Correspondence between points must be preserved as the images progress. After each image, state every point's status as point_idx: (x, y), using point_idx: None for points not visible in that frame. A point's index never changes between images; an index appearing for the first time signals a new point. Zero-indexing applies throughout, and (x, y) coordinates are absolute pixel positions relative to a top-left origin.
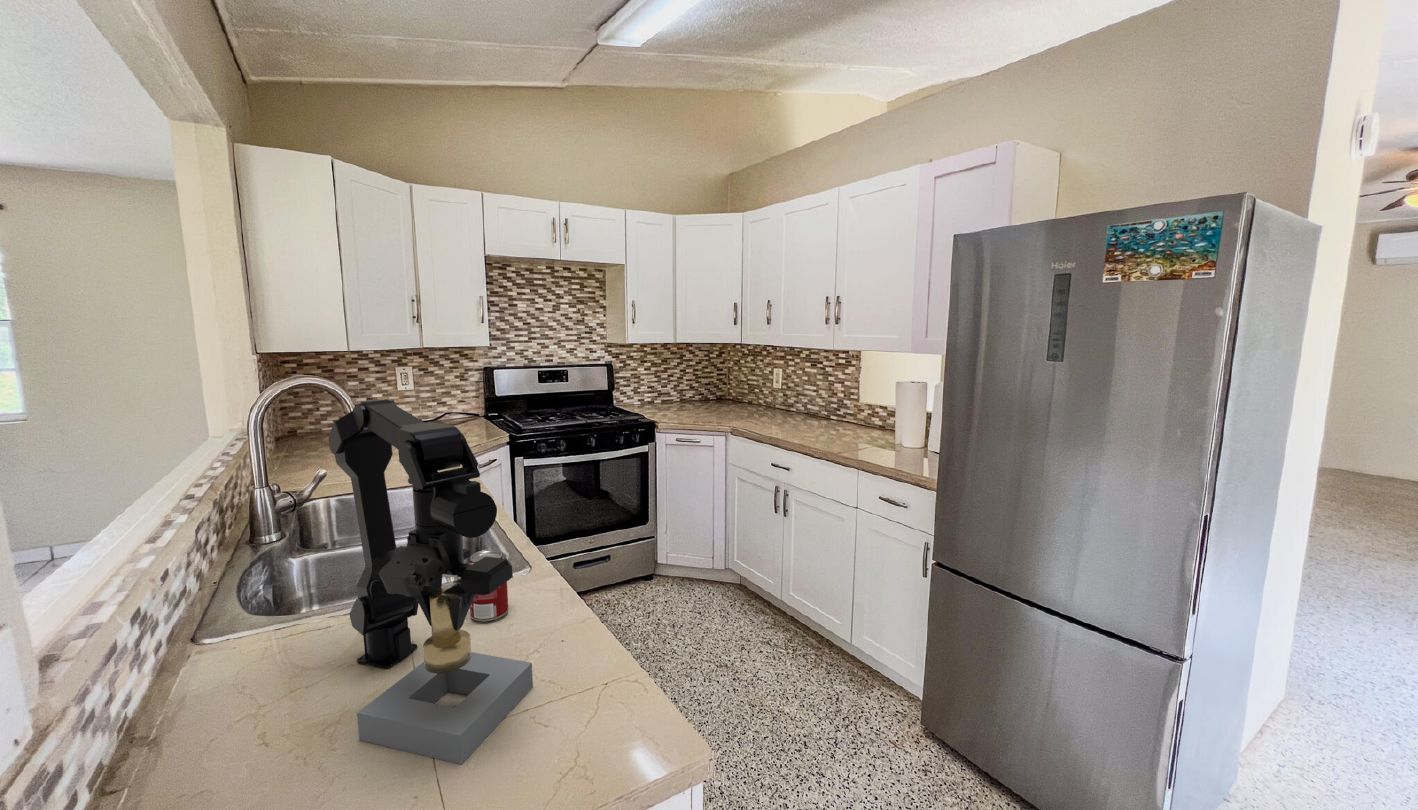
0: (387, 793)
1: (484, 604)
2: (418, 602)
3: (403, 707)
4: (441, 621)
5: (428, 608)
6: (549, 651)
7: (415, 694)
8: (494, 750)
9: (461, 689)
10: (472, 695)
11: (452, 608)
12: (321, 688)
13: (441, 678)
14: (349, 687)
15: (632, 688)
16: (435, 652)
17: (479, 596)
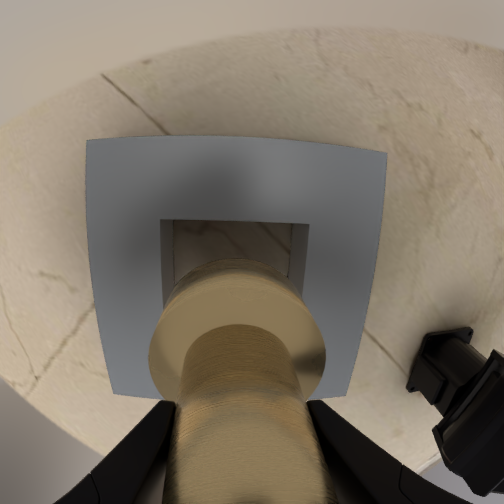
0: (202, 53)
1: None
2: (419, 477)
3: (294, 189)
4: (209, 419)
5: (346, 470)
6: None
7: (305, 248)
8: (80, 193)
9: None
10: (150, 272)
11: (123, 495)
12: (485, 262)
13: None
14: (455, 276)
15: (5, 369)
16: (223, 292)
17: None
